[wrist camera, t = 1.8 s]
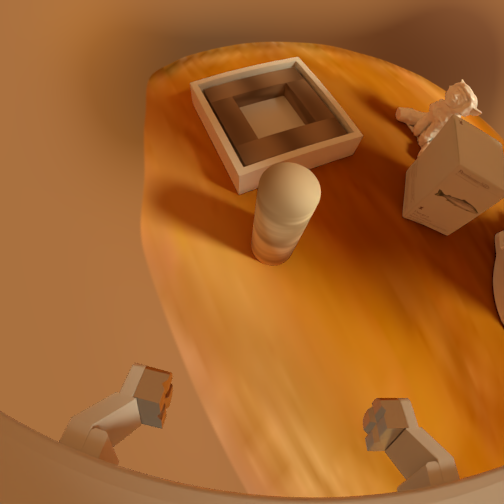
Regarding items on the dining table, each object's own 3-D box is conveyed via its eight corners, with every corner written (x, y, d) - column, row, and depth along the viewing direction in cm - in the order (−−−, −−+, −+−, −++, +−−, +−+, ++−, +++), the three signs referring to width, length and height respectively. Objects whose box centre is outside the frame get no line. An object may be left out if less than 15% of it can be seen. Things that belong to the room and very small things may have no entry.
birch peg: (281, 219, 34) (302, 155, 22) (300, 255, 33) (332, 203, 21) (244, 234, 33) (247, 173, 22) (262, 272, 32) (275, 226, 21)
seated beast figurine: (390, 113, 40) (422, 56, 29) (431, 113, 41) (464, 64, 30) (419, 165, 38) (464, 112, 26) (459, 161, 39) (502, 115, 27)
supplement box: (400, 218, 35) (458, 163, 23) (405, 170, 37) (452, 110, 25) (447, 238, 34) (511, 195, 22) (449, 191, 37) (502, 141, 25)
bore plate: (291, 79, 40) (294, 67, 38) (341, 145, 37) (347, 133, 34) (204, 102, 38) (203, 89, 35) (245, 178, 34) (245, 165, 32)
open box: (294, 76, 41) (298, 56, 37) (353, 154, 37) (363, 135, 33) (192, 103, 39) (189, 82, 35) (238, 195, 35) (239, 176, 31)
